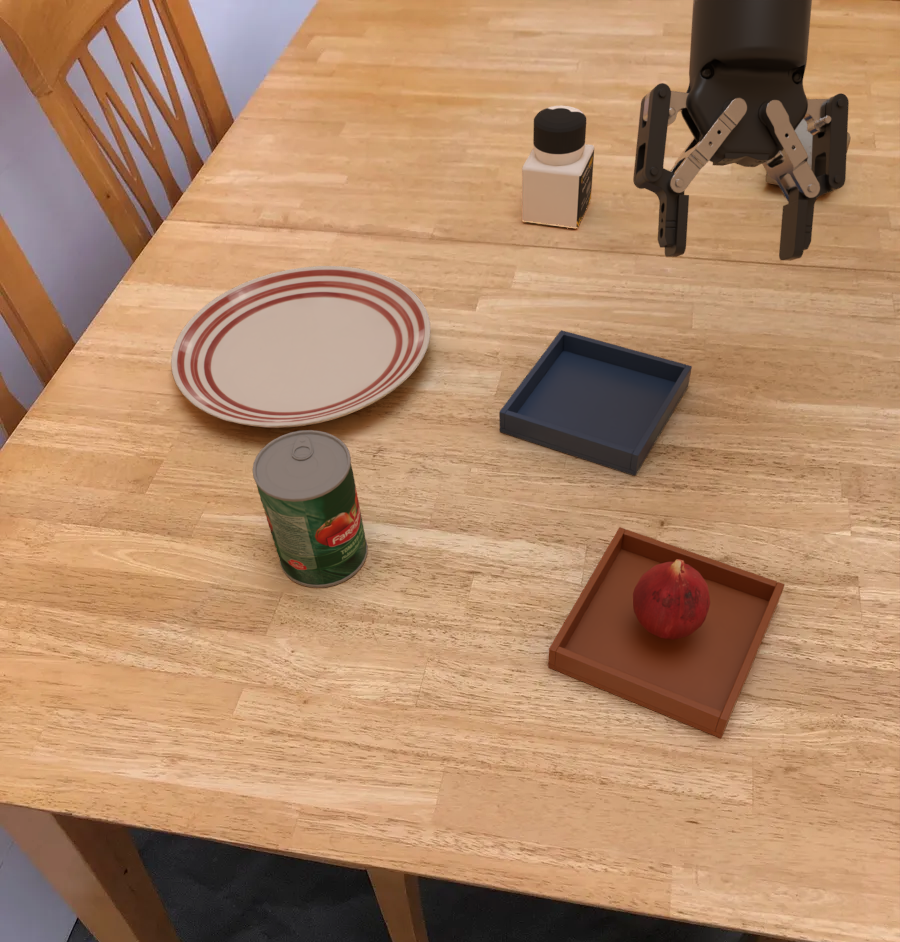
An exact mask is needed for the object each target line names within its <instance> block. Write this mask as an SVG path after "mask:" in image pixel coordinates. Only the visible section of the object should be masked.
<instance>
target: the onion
mask: <svg viewBox="0 0 900 942" xmlns="http://www.w3.org/2000/svg"><path fill="white" fill-rule="evenodd" d="M709 606H710V597H709V590H708V585H707V583H706V582H705V580H704V579H703V577H702V576H701V574H700V573H699V572H698V571H697V570H695V569H694V568H692V567H691V566H690V565H688V564H684V561H683V560H680V559H677V560H676V561H675V562H666V563H662V564H658V565H656V566H654V567H652V568H651V569H650V570H648V571H647V572H646V573H644V574H643V575H642V577H641V578H640V580H639V581H638V583H637V585H636V587H635V589H634V592H633V608H634V613H635V615H636V617H637V619H638V621H639V622H640V624H641V625H642V626H643V627H644V628H645V629H646V630H647V631H648V632H649V633H651V634H653V635H656V636H658V637H660V638H665V639H673V640H675V639H679V638H683V637H687V636H689V635H691V634H692V633H693V632H694V631H696V630H697V629H698V628H699V627H701V625H702V624H703V622H704V621H705V619H706V616H707V613H708V610H709Z"/></svg>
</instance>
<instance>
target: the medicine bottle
mask: <svg viewBox="0 0 900 942" xmlns="http://www.w3.org/2000/svg"><path fill="white" fill-rule="evenodd" d="M586 133H587V116H586V115H585V114H584V112H583V111H582V110H581V109H579V108H577V107H573V106H570V105H552V106H549V107H546V108H543V109H542V110H540V111H539V112H537V114H536V115H535V116H534V118H533V136H532V137H533V139H532V140H533V142H532V143H533V145H532V149H531V151H530V153H529V155H528V156H527V158H526V160H525V162H524V163H523V165H522V168H521V221H522V220H524V221H533V222H541V223H546V224H547V223H548V224H556V225H558V224H559V225H564V226H569V227H571V226H572V227H578V226H579V227H580V225H579V224H581V223H580V221H581V222H582V220H583V218H584V216H585V214H584V213H586V212H587V209H588V207H589V205H590V203H591V201H590V199H591V200H592V189H593V175H594V174H593V173H594V162H595V161H594V159H595V145H593V144H588V143H587V144H586V135H587V134H586ZM589 202H590V203H589ZM588 204H589V205H588ZM586 208H587V209H586ZM585 211H586V212H585ZM583 215H584V216H583ZM582 217H583V218H582ZM581 219H582V220H581ZM579 227H578V228H579Z"/></svg>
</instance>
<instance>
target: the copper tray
mask: <svg viewBox="0 0 900 942" xmlns="http://www.w3.org/2000/svg"><path fill="white" fill-rule="evenodd" d="M677 559H680V560H683V561H684V564H688V565H690V566H691V567H692V568H694V569H695V570H697V571H698V572H699V573H700V574H701V576H702V577H703V579H704V580H705V582H706V583H707V585H708V590H709V597H710V606H709V610H708V613H707V616H706V619H705V621H704V622H703V624H702V625H701V627H699V628H698V629H697V630H696V631H694V632H693V633H692V634H691V635H689V636H687V637H683V638H679V639H675V640H673V639H665V638H660V637H658V636H656V635H653V634H651V633H649V632H648V631H647V630H646V629H645V628H644V627H643V626H642V625H641V624H640V622H639V621H638V619H637V617H636V615H635V613H634V608H633V592H634V589H635V587H636V585H637V583H638V581H639V580H640V578H641V577H642V575H643V574H644V573H646V572H647V571H648V570H650V569H651V568H652V567H654V566H656V565H658V564H662V563H666V562H675V561H676V560H677ZM784 588H785V583H782V582H780V581H777V580H774V579H772V578H768V577H766V576H762V575H759V574H756V573H753V572H750V571H748V570H745V569H743V568H739V567H736V566H734V565H730V564H728V563H725V562H722V561H719V560H716V559H713V558H710V557H708V556H704V555H702V554H699V553H696V552H693V551H690V550H687V549H684V548H681V547H679V546H676V545H672V544H670V543H667V542H664V541H661V540H658V539H656V538H652V537H650V536H647V535H644V534H641V533H638V532H635V531H633V530H630V529H626V528H625V527H620V526H619V527H618V529H617V531H616V532H615V534H614V536H613V538H612V539H611V541H610V542H609V544H608V546H607V547H606V549H605V551H604V553H603V554H602V556H601V558H600V560H599V562H598V563H597V565H596V566H595V568H594V570H593V572H592V574H591V575H590V577H589V579H588V580H587V582H586V584H585V586H583V589H582V591H581V593H580V594H579V596H578V598H577V600H576V601H575V603H574V605H573V606H572V608H571V609H570V611H569V613H568V615H567V617H566V619H564V622H563V624H562V625H561V627H560V628H559V631H558V632H557V634H556V636H555V638H554V639H553V641H552V642H551V645H550V646H549V648H548V657H547V658H548V659H547V662H548V663H547V668H549V669H552V670H554V671H556V672H558V673H561V674H564V675H566V676H568V677H571V678H573V679H576V680H578V681H580V682H583V683H585V684H588V685H590V686H592V687H595V688H597V689H600V690H602V691H605V692H607V693H610V694H612V695H615V696H617V697H619V698H622V699H624V700H626V701H629V702H632V703H634V704H637V705H639V706H642V707H643V708H646V709H647V710H648V709H649V710H650V711H654V712H656V713H659V714H661V715H663V716H665V717H668V718H670V719H672V720H675V721H678V722H680V723H683V724H685V725H687V726H689V727H692V728H694V729H697V730H700V731H702V732H703V733H706V734H709V735H711V736H714V737H717V738H719V739H722V738H723V735H724V733H725V731H726V728H727V726H728V723H729V721H730V719H731V716H732V714H733V711H734V709H735V707H736V705H737V703H738V700H739V697H740V695H741V692H742V690H743V688H744V686H745V683H746V681H747V679H748V676H749V673H750V671H751V668H752V666H753V665H754V661H755V659H756V657H757V655H758V652H759V650H760V647H761V645H762V643H763V640H764V637H765V635H766V633H767V630H768V629H769V626H770V624H771V621H772V619H773V616H774V614H775V612H776V609H777V607H778V605H779V602H780V599H781V596H782V594H783V591H784Z"/></svg>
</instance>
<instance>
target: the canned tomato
mask: <svg viewBox="0 0 900 942" xmlns="http://www.w3.org/2000/svg"><path fill="white" fill-rule="evenodd" d="M352 466H353V465H352V458H351V453H350V450H349V448H348V447H347V445H346V444H345V443H344V442H343V441H342V440H341V439H340V438H338V437H337V436H336V435H333V434H331V433H329V432H327V431H326V432H325V431H321V430H315V429H314V430H312V429H308V430H307V429H305V430H297V431H291V432H288V433H285V434H283V435H280V436H278V437H276V438H274V439H272V440H271V441H270V442H268V443H266V445H265V446H263V448H261V449H260V450H259V452H258V453H257V455H256V456H255V459H254V461H253V464H252V477H253V478H252V479H253V480H254V482H255V484H256V488H257V493H258V495H259V497H260V502H261V504H262V508H263V511H264V515H265V517H266V521H267V523H268V528H269V531H270V535H271V537H272V540H273V544H274V548H275V550H276V553H277V556H278V559H279V565H280V568H281V569H282V571H283V574H285V576H286V577H287V578H288V579H290V580H291V581H292V582H294V583H296V584H298V585H300V586H304V587H308V588H316V589H319V588H320V589H321V588H328V587H333V586H337V585H339V584H342V583H344V582H346V581H348V580H349V579H351V578H352V577H353V576H355V575H357V573H358V572H359V571H360V570H361V568H363V566H364V564H365V562H366V561H367V560H366V559H367V556H368V548H369V547H368V542H367V539H366V532H365V527H364V523H363V517H362V512H361V506H360V501H359V496H358V492H357V486H356V480H355V476H354V470H353V467H352Z"/></svg>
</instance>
